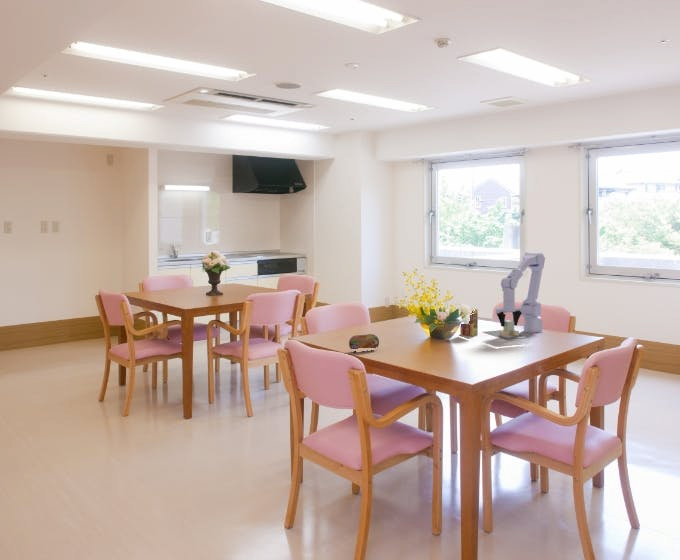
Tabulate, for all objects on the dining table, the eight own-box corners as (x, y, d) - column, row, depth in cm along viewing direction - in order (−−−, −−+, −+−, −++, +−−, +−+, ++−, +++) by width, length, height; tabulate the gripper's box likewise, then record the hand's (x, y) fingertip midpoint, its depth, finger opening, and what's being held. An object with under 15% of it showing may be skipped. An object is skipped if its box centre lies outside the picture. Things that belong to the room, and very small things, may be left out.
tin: (350, 353, 289) (349, 336, 288) (348, 352, 292) (347, 335, 291) (379, 350, 293) (379, 333, 292) (377, 349, 296) (377, 332, 295)
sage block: (510, 329, 317) (510, 320, 317) (514, 330, 313) (514, 321, 313) (503, 330, 316) (503, 320, 316) (507, 331, 312) (507, 321, 312)
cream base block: (511, 334, 319) (511, 328, 319) (518, 336, 312) (518, 330, 312) (499, 335, 317) (499, 329, 317) (507, 337, 310) (506, 332, 310)
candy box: (478, 337, 319) (478, 309, 318) (473, 338, 317) (473, 309, 315) (465, 335, 326) (464, 307, 325) (460, 336, 323) (459, 308, 322)
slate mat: (503, 331, 333) (503, 329, 332) (530, 339, 309) (530, 337, 309) (481, 333, 329) (481, 331, 328) (506, 341, 305) (506, 339, 305)
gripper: (516, 298, 319) (516, 323, 320) (492, 300, 315) (492, 325, 316) (524, 300, 312) (524, 325, 313) (500, 301, 308) (500, 327, 309)
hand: (509, 325), depth 314 cm, fingers open, 7 cm apart
